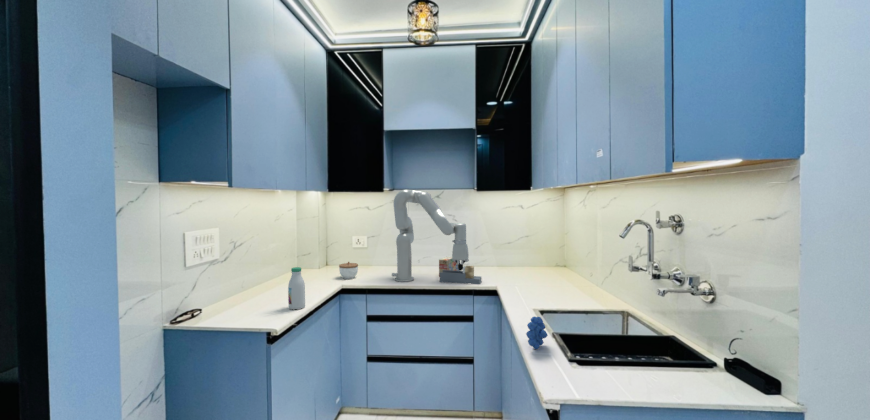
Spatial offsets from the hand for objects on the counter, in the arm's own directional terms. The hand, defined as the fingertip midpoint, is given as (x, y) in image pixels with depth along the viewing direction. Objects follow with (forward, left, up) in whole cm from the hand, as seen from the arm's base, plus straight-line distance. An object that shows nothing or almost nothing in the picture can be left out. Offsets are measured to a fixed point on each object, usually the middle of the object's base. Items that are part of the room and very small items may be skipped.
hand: (460, 270), depth 230 cm
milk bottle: (-68, -75, -8) cm, 102 cm away
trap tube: (0, 0, -7) cm, 7 cm away
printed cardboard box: (-12, +19, -8) cm, 24 cm away
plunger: (-1, 0, -4) cm, 4 cm away
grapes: (+47, -94, -8) cm, 106 cm away
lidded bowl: (-76, -9, -8) cm, 77 cm away
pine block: (+6, 0, -4) cm, 7 cm away
